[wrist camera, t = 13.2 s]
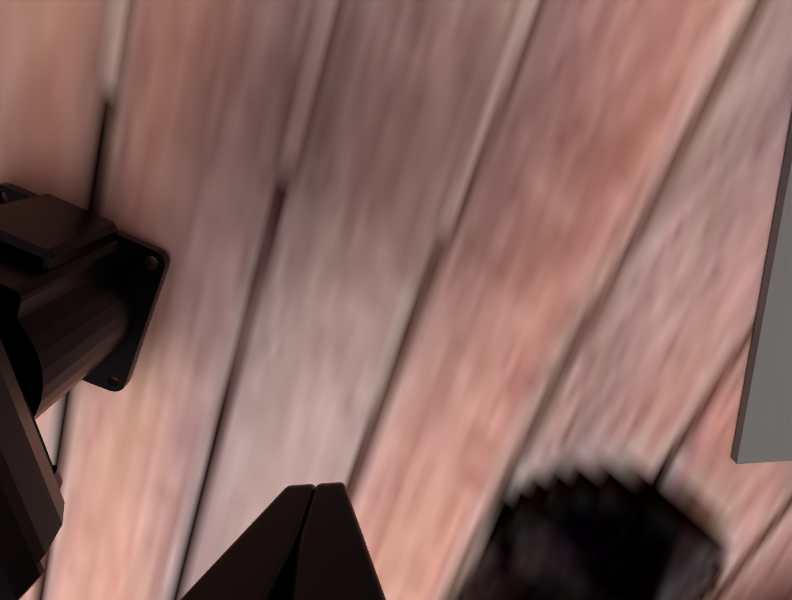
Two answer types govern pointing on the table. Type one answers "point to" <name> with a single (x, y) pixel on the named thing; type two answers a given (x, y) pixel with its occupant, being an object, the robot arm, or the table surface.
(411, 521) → the table surface
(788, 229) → the mat
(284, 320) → the table surface
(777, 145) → the table surface
